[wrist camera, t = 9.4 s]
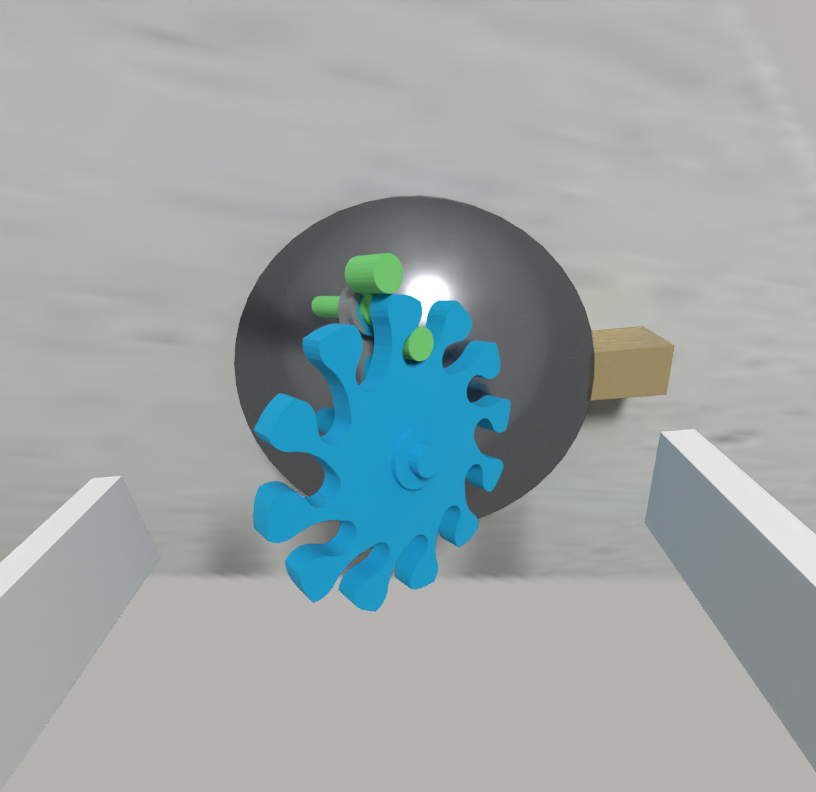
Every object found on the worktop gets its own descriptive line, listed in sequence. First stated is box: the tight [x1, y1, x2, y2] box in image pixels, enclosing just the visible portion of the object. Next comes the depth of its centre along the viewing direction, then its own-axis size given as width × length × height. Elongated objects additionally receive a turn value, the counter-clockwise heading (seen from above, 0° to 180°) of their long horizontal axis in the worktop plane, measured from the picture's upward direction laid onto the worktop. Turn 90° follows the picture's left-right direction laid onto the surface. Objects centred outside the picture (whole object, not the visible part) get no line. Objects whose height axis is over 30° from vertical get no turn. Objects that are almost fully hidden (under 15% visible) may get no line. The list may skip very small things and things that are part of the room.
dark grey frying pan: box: [234, 195, 674, 518], centre depth 18 cm, size 17×14×2 cm
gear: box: [253, 253, 511, 611], centre depth 15 cm, size 11×6×10 cm
